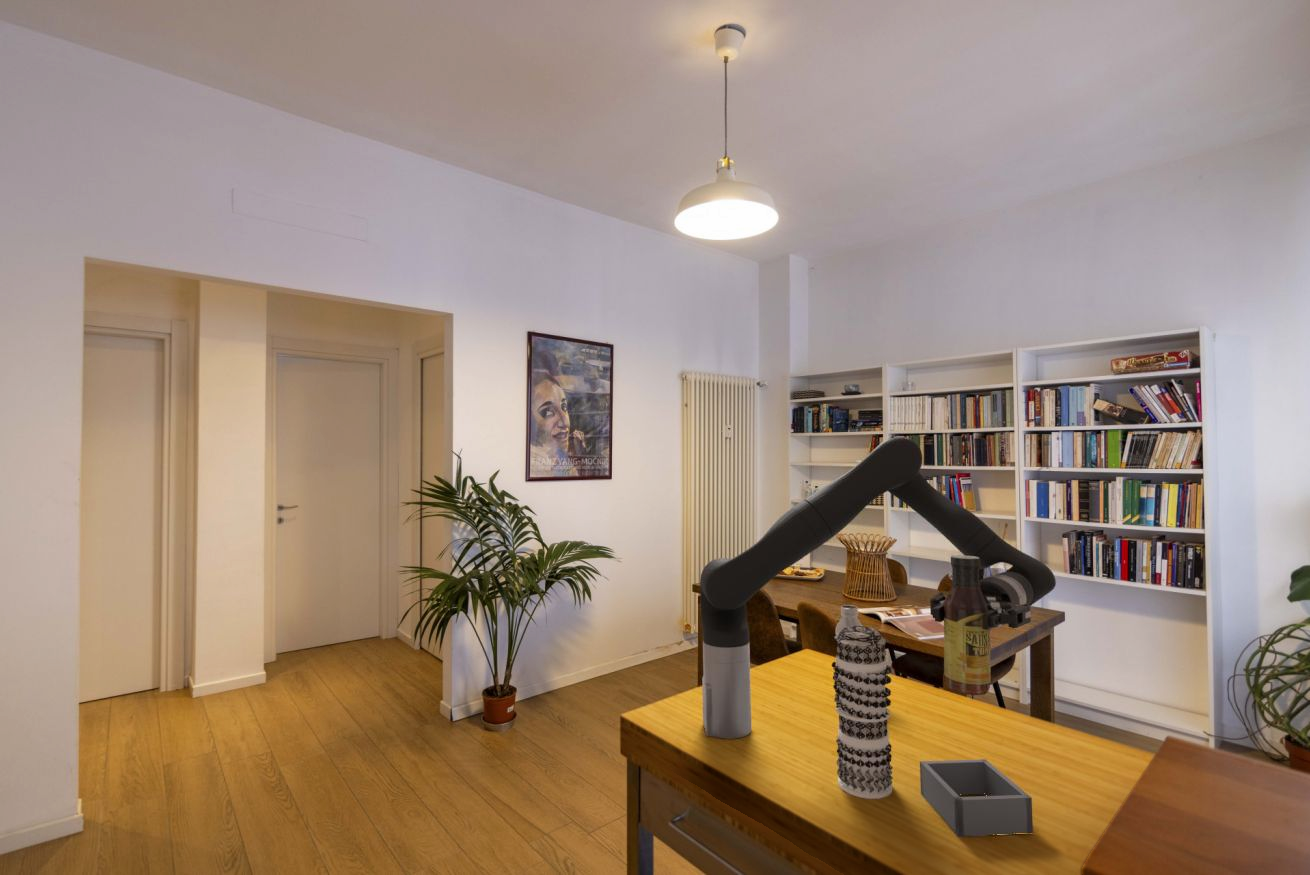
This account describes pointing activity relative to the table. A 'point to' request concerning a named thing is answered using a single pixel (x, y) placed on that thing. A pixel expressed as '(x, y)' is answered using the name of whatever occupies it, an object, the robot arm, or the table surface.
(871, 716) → the decorative candle
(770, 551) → the robot arm
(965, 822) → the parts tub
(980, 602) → the sauce bottle
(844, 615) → the plastic bottle
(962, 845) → the table surface
